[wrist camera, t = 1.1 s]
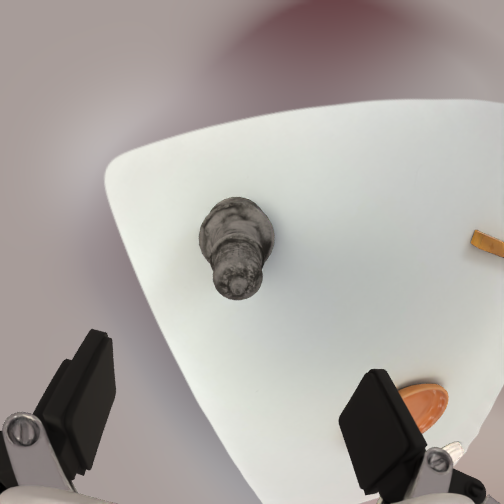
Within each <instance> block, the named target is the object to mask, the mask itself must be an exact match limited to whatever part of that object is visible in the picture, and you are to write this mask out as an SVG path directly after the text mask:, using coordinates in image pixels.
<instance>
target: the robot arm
mask: <svg viewBox="0 0 504 504" xmlns="http://www.w3.org/2000/svg"><path fill="white" fill-rule="evenodd" d="M115 394H116V386H115V374H114V362H113V346H112V339H111V338H109V337H108V335H107V333H106V332H102V331H98V330H94V329H91V330H90V331H89V333H88V334H87V336H86V338H85V339H84V341H83V343H82V344H81V346H80V347H79V349H78V351H77V353H76V354H75V356H74V358H73V359H72V360H69V359H66V360H64V361H63V362H62V364H61V365H60V367H59V369H58V370H57V372H56V374H55V375H54V377H53V379H52V380H51V382H50V384H49V386H48V387H47V389H46V391H45V393H44V394H43V396H42V398H41V400H40V402H39V403H38V405H37V407H36V409H35V411H34V413H33V414H31V413H26V412H17V413H14V414H12V415H10V416H9V417H8V418H7V419H6V420H5V422H4V424H3V428H2V431H0V504H117V503H113V502H109V501H105V500H101V499H97V498H94V497H90V496H86V495H83V494H79V493H78V492H77V490H76V488H75V487H74V484H73V483H72V481H71V480H74V479H75V475H76V473H77V474H80V475H83V476H84V474H85V471H86V469H87V470H91V468H92V465H93V461H94V458H95V455H96V452H97V449H98V446H99V443H100V440H101V436H102V433H103V430H104V427H105V424H106V422H107V419H108V416H109V413H110V410H111V407H112V404H113V402H114V399H115ZM339 426H340V429H341V431H342V434H343V437H344V440H345V443H346V446H347V449H348V452H349V455H350V458H351V461H352V464H353V468H354V471H355V474H356V477H357V480H358V483H359V486H360V488H361V489H363V490H364V493H365V495H370V494H375V493H378V492H379V494H380V497H379V499H378V501H377V504H500V503H499V502H497V501H496V500H495V499H494V498H492V497H491V496H490V495H487V496H486V489H485V487H484V485H483V484H482V483H481V481H479V480H478V479H475V478H473V477H471V476H469V475H466V474H464V473H462V472H460V471H458V470H455V469H453V460H452V458H451V456H450V454H449V453H448V452H447V451H445V450H444V449H442V448H438V447H432V448H429V449H428V450H427V451H426V449H425V447H426V446H427V443H426V441H425V439H424V437H423V435H422V433H421V432H420V430H419V428H418V426H417V424H416V422H415V421H414V419H413V417H412V415H411V413H410V411H409V410H408V408H407V406H406V404H405V403H404V401H403V399H402V397H401V395H400V394H399V392H398V390H397V388H396V387H395V385H394V383H393V382H392V380H391V378H390V376H389V375H388V373H387V371H386V370H384V369H371V370H369V372H368V373H366V374H365V375H364V376H363V378H362V380H361V382H360V383H359V385H358V387H357V389H356V390H355V392H354V394H353V395H352V397H351V399H350V400H349V402H348V404H347V405H346V407H345V408H344V410H343V411H342V413H341V415H340V417H339Z"/></svg>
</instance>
